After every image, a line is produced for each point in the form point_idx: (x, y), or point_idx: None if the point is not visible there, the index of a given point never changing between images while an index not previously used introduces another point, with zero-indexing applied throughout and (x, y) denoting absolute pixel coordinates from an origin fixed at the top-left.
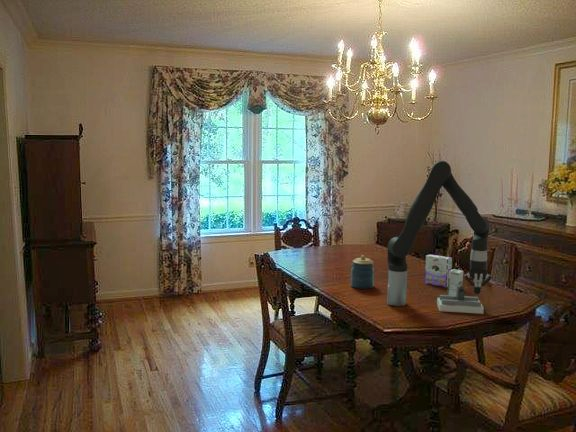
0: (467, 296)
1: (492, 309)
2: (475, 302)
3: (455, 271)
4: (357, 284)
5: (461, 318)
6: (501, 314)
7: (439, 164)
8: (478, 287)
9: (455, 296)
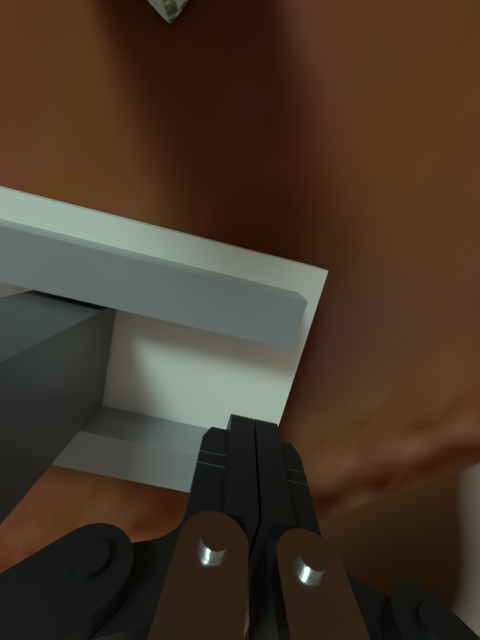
0: (176, 282)
1: (383, 361)
2: (187, 491)
3: None
4: None
5: (62, 527)
6: (382, 470)
7: None
8: (251, 596)
9: (11, 276)
